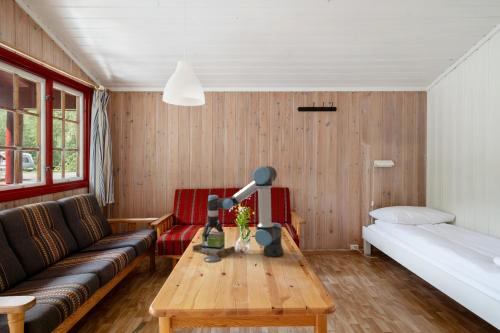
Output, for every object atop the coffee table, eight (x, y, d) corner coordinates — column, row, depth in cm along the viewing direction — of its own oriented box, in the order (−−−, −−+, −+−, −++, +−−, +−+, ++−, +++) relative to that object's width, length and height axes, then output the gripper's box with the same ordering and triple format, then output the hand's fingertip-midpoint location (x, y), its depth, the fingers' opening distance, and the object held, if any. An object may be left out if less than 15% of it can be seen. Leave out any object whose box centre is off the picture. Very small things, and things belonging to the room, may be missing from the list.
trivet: (212, 255, 226) (212, 254, 226) (224, 259, 218) (224, 257, 218) (200, 260, 216) (200, 259, 216) (212, 263, 209) (212, 262, 209)
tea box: (201, 253, 233) (201, 233, 233) (206, 249, 243) (206, 230, 243) (220, 254, 230) (220, 234, 229) (225, 250, 240) (224, 231, 239)
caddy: (209, 245, 252) (209, 241, 252) (234, 251, 235) (234, 246, 235) (192, 251, 238) (192, 245, 238) (217, 257, 221) (217, 252, 221)
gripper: (221, 212, 248) (221, 239, 248) (197, 217, 228) (197, 246, 229) (227, 213, 243) (227, 240, 244) (204, 218, 224) (204, 248, 224)
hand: (213, 243), depth 236 cm, fingers open, 13 cm apart
